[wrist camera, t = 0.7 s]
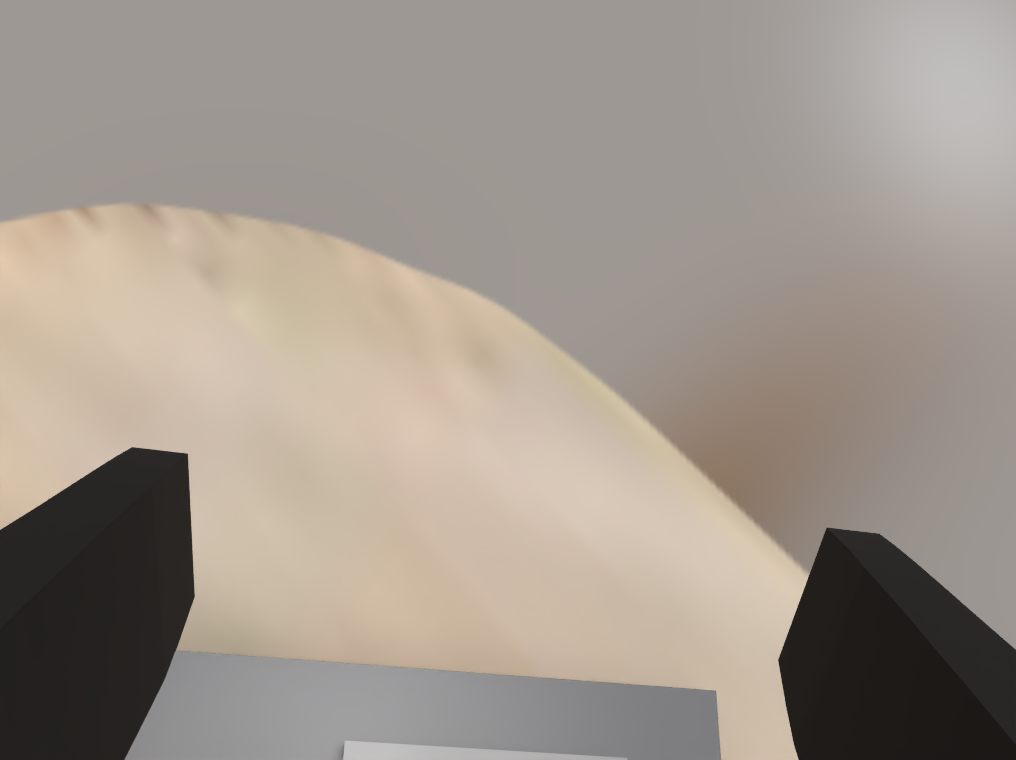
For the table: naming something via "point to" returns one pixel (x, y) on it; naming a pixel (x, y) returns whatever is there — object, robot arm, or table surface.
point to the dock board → (412, 715)
